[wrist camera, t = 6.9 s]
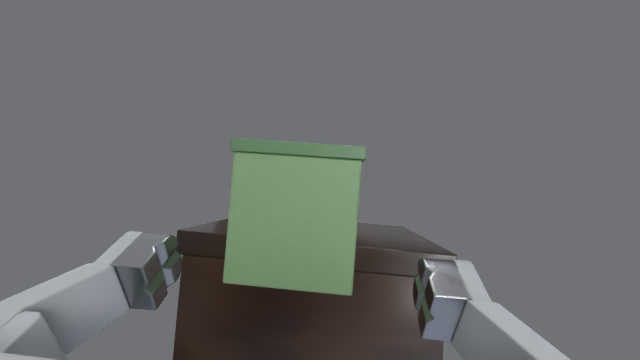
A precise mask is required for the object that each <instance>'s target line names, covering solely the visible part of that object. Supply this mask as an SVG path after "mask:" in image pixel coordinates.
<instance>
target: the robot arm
mask: <svg viewBox="0 0 640 360" xmlns="http://www.w3.org/2000/svg"><path fill="white" fill-rule="evenodd" d="M177 246H178V242H177V238H176V237H175V236H172V235H164V234H156V233H146V232H145V233H144V232H135V231H130V232H127V233H126V234H124V235H123V236H122V237H121V238H120V239H119V240H118V241H117V242H116V243H115V244H114V245H112V246H111V247H110V248H109V249H108V250H107V251H106V252H105V253H104V254H103V255H102V256H100V257H99V258H98V259H97V260H96V261H95V262H94V263H93V264H91V263H87V264H85V265H83V266H81V267H78V268H76V269H74V270H71V271H69V272H67V273H64V274H62V275H60V276H58V277H55V278H53V279H51V280H49V281H46V282H44V283H42V284H40V285H37V286H35V287H32V288H30V289H28V290H26V291H24V292H21V293H19V294H16V295H14V296H12V297H10V298H7V299H5V300H3V301H1V302H0V360H68V358H67V356H66V355H67V354H69V353H70V352H72V351H73V350H74V349H76V348H77V347H79V346H80V345H81V344H83V343H84V342H86V341H87V340H88V339H90V338H91V337H92V336H94V335H95V334H97V333H98V332H100V331H101V330H103V329H104V328H105V327H107V326H108V325H110V324H111V323H112V322H114V321H115V320H117V319H118V318H119V317H121V316H122V315H124V314H125V313H126V312H128V311H129V310H130V308H132V309H145V310H157V308H158V307H159V305H160V304H161V302H162V301H163V300H164V298H165V297H166V295H167V287H169V286H171V285H172V284H174V283H175V282H176V280H177V279H178V277H179V275H180V272H181V269H182V258H181V255H180V254H179V253H178V252H177V251H176V250H175V249H176V248H177ZM417 268H418V272H419V274H418V275H416V276H415V277H414V282H413V301H414V306H415V307H416V309H417V310H418V311H419V315H418V324H419V328H420V332H421V337H422V339H429V340H436V341H444V342H451V345H452V346H453V347H454V348H455V350H456V351H457V352H458V353H459V355H460V356H461V357H462V358H463V359H464V360H570V359H569V358H567V357H566V356H565V355H564V354H562V353H561V352H560V351H559V350H557V349H556V348H555V347H553V346H552V345H551V344H549V343H548V342H547V341H546V340H544V339H543V338H542V337H541V336H539V335H538V334H537V333H535V332H534V331H533V330H532V329H530V328H529V327H528V326H526V325H525V324H524V323H523V322H521V321H520V320H519V319H518V318H516V317H515V316H514V315H512V314H511V313H510V312H508V311H507V310H506V309H505V308H503V307H502V306H501V305H499V304H498V303H494V302H492V301H491V299H490V297H489V295H488V293H487V291H486V289H485V287H484V286H483V284H482V281H481V280H480V278H479V276H478V274H477V272H476V270H475V268H474V266H473V264H472V262H470V261H468V260H449V259H437V258H425V257H420V259H419V261H418V265H417Z"/></svg>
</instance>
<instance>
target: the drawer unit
mask: <svg viewBox="0 0 640 360" xmlns="http://www.w3.org/2000/svg"><path fill="white" fill-rule="evenodd" d="M227 227H228V219H225V220H221V221H216V222H212V223H207V224H203V225H198V226H194V227H189V228H185V229H181V230H178V231H177V242H178V246H177V248H176V251H177V252H178V253H179V254H181V255H183V257H182V269H181V278H180V289H179V299H178V310H177V320H176V331H175V341H174V352H173V360H442V359H443V342H444V341H436V340H429V339H422V337H421V332H420V328H419V324H418V315H419V311H418V310H417V309H416V307H415V306H414V301H413V282H414V277H415V276H416V275H418V274H419V272H418V268H417V265H418V261H419V259H420V257H425V258H437V259H449V260H457V255H456V254H454V253H452V252H450V251H448V250H446V249H444V248H442V247H441V246H439V245H437V244H435V243H433V242H431V241H429V240H427V239H425V238H423V237H421V236H419V235H418V234H416V233H414V232H412V231H410V230H408V229H406V228H405V227H401V226H389V225H377V224H366V223H357V236H356V250H355V264H354V278H353V292H352V295H351V296H346V295H336V294H326V293H316V292H307V291H297V290H287V289H277V288H267V287H257V286H247V285H237V284H228V283H223V272H224V261H225V250H226V238H227Z"/></svg>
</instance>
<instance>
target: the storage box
mask: <svg viewBox="0 0 640 360" xmlns="http://www.w3.org/2000/svg"><path fill="white" fill-rule="evenodd" d="M230 150H231V151H233V152H235V153H234V161H233V172H232V182H231V194H230V205H229V216H228V227H227V238H226V250H225V261H224V272H223V283H228V284H237V285H247V286H257V287H267V288H277V289H287V290H297V291H307V292H316V293H326V294H336V295H346V296H351V295H352V292H353V278H354V264H355V250H356V236H357V223H358V222H357V221H358V209H359V195H360V181H361V167H362V163H363V162H364V160H365V159H366V147H360V146H346V145H331V144H315V143H301V142H286V141H271V140H256V139H241V138H231V142H230Z"/></svg>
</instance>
